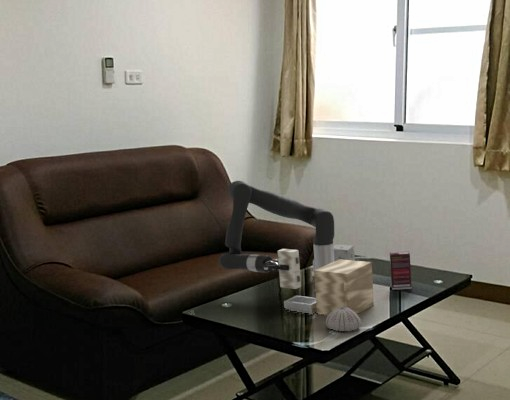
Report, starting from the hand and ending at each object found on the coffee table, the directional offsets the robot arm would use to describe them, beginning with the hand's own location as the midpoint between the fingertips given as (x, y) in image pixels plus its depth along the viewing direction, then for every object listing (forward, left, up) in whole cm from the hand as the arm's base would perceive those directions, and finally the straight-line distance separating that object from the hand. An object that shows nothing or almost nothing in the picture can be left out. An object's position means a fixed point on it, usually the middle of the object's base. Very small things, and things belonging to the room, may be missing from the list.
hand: (291, 266), depth 338 cm
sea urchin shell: (+38, -22, -16) cm, 46 cm away
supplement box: (+33, +36, -16) cm, 51 cm away
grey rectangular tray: (+11, -8, -15) cm, 20 cm away
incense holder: (-11, +61, -16) cm, 64 cm away
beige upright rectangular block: (-1, 0, -9) cm, 9 cm away
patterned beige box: (+25, -1, -15) cm, 29 cm away
